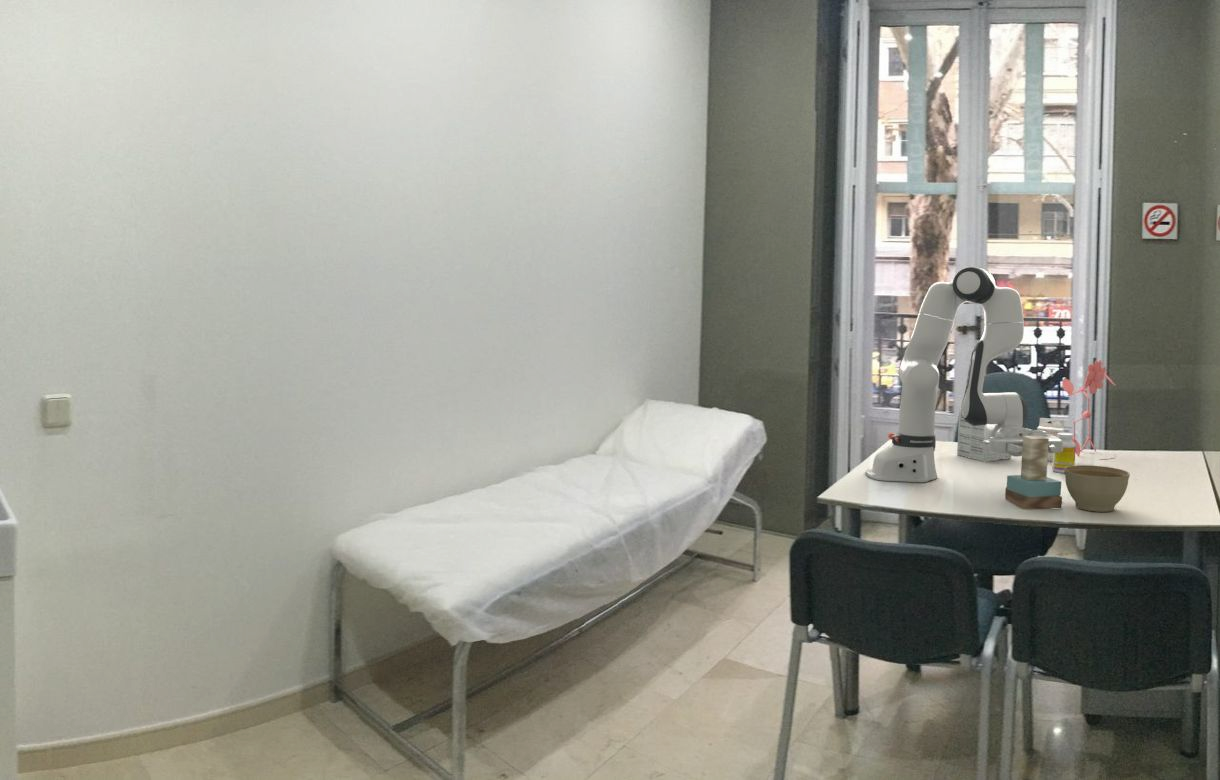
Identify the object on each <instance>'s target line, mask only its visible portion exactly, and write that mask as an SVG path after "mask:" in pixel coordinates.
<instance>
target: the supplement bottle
mask: <svg viewBox="0 0 1220 780" xmlns="http://www.w3.org/2000/svg"><path fill="white" fill-rule="evenodd" d="M1057 438H1059V439H1061V440H1062V441H1063V451H1062V452H1061V453H1053V461H1051V463H1052V464H1051V469H1052V471H1053V472H1054V473H1055V472H1056V473H1059V474H1065V471H1064V469H1065V468H1066V467H1068V466H1075V462H1076V453H1075V448H1076V444H1075V443H1074V442H1073V441H1072V439H1074V433H1070V432H1064V433H1058V434H1057Z"/></svg>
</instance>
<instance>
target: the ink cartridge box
mask: <svg viewBox="0 0 1220 780" xmlns="http://www.w3.org/2000/svg"><path fill="white" fill-rule="evenodd" d="M1049 422H1054V423H1049ZM1036 430H1041V431H1046V432H1047V434H1049V435H1052V436H1055V437H1057V434H1058V433H1065V420H1064V419H1061V418H1059V419H1058V418H1047V417H1040V418H1039V423H1038V427H1036ZM1052 461H1053V453H1048V460H1047V462H1052Z"/></svg>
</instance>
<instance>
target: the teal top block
mask: <svg viewBox="0 0 1220 780" xmlns="http://www.w3.org/2000/svg"><path fill="white" fill-rule="evenodd" d="M1006 479H1007V480H1006V488H1007V489H1008V490H1010V491H1013V492H1016V493H1019V494H1022V495H1025V496H1027V497H1044V496H1061V495H1062V493H1061V492H1062V481H1060V480H1058V479H1055V478H1052V477H1048V476H1047V478H1046V480H1027V479H1025V478H1023V477H1021V474H1014V475H1013V474H1010V475H1007V476H1006Z"/></svg>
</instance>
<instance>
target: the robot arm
mask: <svg viewBox="0 0 1220 780" xmlns="http://www.w3.org/2000/svg"><path fill="white" fill-rule="evenodd" d="M1022 303H1023V302H1022V298H1021V295H1020V293H1019V292H1018V291H1017V290H1016V289H1014V288H1011V287H1007V286H1004V287H1002V286H1001V287H999V286H998V284H997V279H996V277H995V275H993V274H992V273H991V272H990V271H988V270H987V269H985V268H983V267H979V266H973V265H972V266H971V265H970V266H965V267H962V268H961V269H960V270H958V271H957V272H956V273H955V275H954V277H953V279H952V282H947V281H945V282H944V281H938V282H934V283H933V284H932V285H930V287H929V288H928V291H927V292H926V294H925V296H924V298H923V301H922V303H921V305H920V308H919V312H918V314H917V318H916V322H915V325H914V328H913V331H912V334H911V337H910V339H909V342H908V345H907V347H906V349H905V351H904V355H903V358H902V360H901V362H900V366H899V370H898V377H899V380H900V381H901V383H902V384H901V396H900V404H899V410H898V432H896V433H895V434H894V433H893V432H889V433H888V434H887V437H888V439H889V440H891V444H890V445H888V446H887V447H885V448H884V449H883V450H882V451H880V452H878V453H876V455H875V456H874V459H873V462H872V467H871V468H866V469H865V475H866V476H867V477H868V478H870V479H873V480H875V481H886V482H888V481H889V482H910V483H911V482H912V483H927V482H929V481H932V480H936V479H938V478H939V477H938V473H937V470H936V469H937V468H936V460H935V451H936V441H937V440H936V434H935V425H936V424H935V423H936V422H935V420H936V407H937V401H938V394H939V388H940V387H939V385H940V372H939V368H938V365H939V363H940V360H941V357H942V355H943V353H944V351H945V349H946V347H947V346H948V342H949V339H950V336H951V333H952V330H953V327H954V323H955V319H956V317H957V313H958V311H959V308H960V307H961V306H962V305H971V304H979V305H980V306H981V307H982V309H983V314H984V315H983V316H984V329H983V333H982V336H981V338H980V340H978V341H976V342H975V343H974V345H973V347H972V350H971V355H970V361H969V365H968V366H969V367H968V373H967V379H966V386H965V391H964V395H963V397H962V402H961V407H960V408H961V414H962V417H963V418H964V420H965V421H967V422H968V423H969V424H971V425H972V426H979V425H986V426H985V427H984V436H985V438H986V440H984V441H983V443H984V444H986V445H988V448H989V449H990V450H991V451H993V452H997V453H1007V454H1010V455H1011V457H1022V449H1023V447H1022V444H1023V436H1042V437H1045V438H1048V439H1049V442H1048V453H1061V452H1062V451H1063V441H1062V440H1061V439H1059V438H1057V437H1055V436H1052V435H1049V434H1047V432H1046V431H1041V430H1037V429H1030V428H1027V427H1025V426H1026V423H1027V420H1028V413H1029V412H1028V405H1027V402H1026V401H1025V400H1024V398H1023V397H1022V396H1021V395H1020V394H1019V393H1018V392H1016V391H1015V392H1014V391H1013V392H987V393H986V392H985V393H984V392H983V388H984V382H985V376H986V375H985V374H986V369H987V367H988V365H989V363H990V362H991V361H993V360H994V359H995V358H997V357H1000V356H1003V355H1005V354H1007V353H1010V352H1012V351H1014V349H1016V348H1017V347H1018V346H1020V345H1021V342H1023V339H1024V332H1025V327H1024V324H1025V323H1024V322H1025V321H1024V308H1023V305H1022Z"/></svg>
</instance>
